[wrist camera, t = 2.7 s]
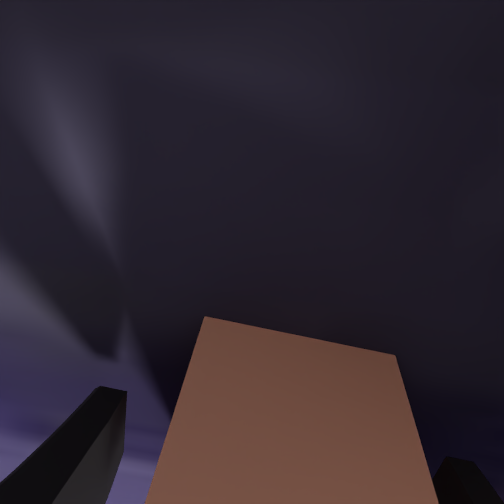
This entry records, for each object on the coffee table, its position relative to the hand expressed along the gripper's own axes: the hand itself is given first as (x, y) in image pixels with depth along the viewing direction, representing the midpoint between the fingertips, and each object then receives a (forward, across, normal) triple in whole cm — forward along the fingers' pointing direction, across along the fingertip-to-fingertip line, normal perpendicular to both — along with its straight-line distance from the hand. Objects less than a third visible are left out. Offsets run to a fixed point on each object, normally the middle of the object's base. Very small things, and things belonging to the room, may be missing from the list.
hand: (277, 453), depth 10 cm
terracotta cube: (+2, 0, 0) cm, 2 cm away
